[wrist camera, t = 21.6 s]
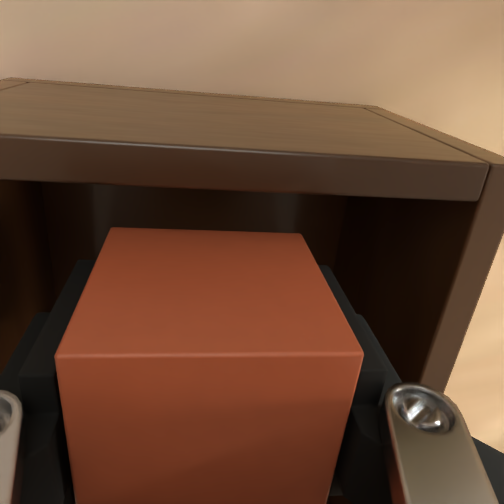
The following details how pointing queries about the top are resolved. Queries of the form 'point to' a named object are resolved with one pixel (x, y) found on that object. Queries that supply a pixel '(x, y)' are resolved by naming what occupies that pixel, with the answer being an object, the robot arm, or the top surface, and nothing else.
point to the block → (205, 371)
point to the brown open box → (252, 200)
